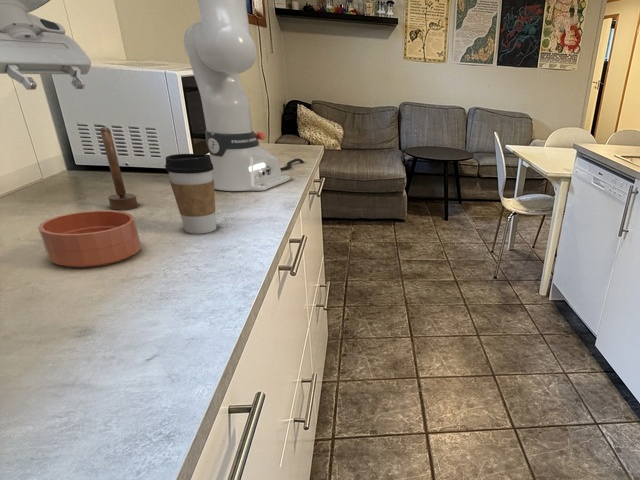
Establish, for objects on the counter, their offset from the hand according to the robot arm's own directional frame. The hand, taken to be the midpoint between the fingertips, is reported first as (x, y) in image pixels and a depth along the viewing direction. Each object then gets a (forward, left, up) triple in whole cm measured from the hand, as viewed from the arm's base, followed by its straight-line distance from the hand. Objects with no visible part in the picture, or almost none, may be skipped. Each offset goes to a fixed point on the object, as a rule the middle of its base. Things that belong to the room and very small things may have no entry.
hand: (57, 87), depth 100 cm
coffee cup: (+1, +37, -24) cm, 44 cm away
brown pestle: (0, +12, -24) cm, 27 cm away
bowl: (+20, +34, -24) cm, 46 cm away
